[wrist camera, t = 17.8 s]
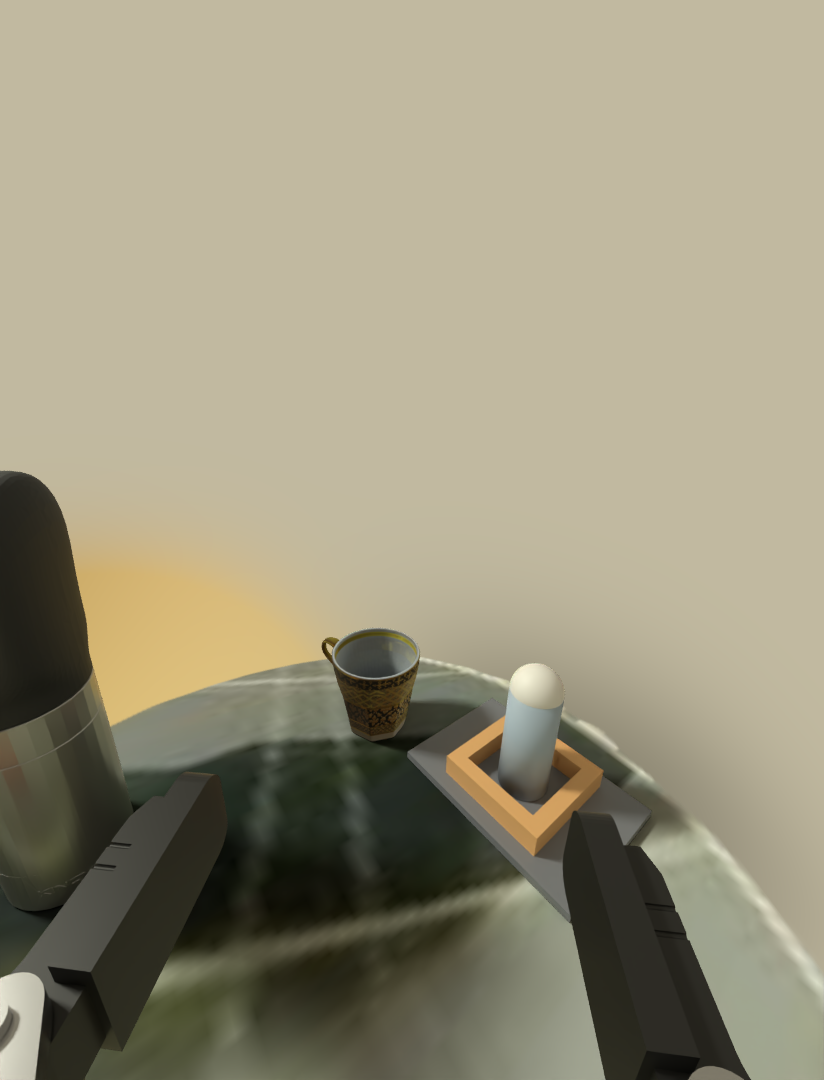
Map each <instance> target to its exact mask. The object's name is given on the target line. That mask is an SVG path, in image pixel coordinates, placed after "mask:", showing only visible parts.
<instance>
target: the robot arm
mask: <svg viewBox="0 0 824 1080" xmlns="http://www.w3.org/2000/svg"><path fill="white" fill-rule="evenodd" d="M226 832H227V815H226V809H225V803H224V798H223V792H222V786H221V781H220V778H219V776H218V775H215V774H205V773H194V772H184V773H182V774H181V775H180V776H179V777H178V778H177V779H176V781H175V782H174V784H173V785H172V786H171V788H170V789H169V791H168V792H167V794H166V795H165V797H160V796H153V797H152V798H151V799H150V800H149V801H147V802H146V803H145V804H144V805H143V806H141V807H140V808H139V809H138V810H137V811H135V812H133V808H132V804H131V801H130V797H129V793H128V789H127V785H126V782H125V778H124V774H123V771H122V767H121V764H120V760H119V757H118V753H117V749H116V746H115V742H114V739H113V735H112V732H111V728H110V725H109V721H108V718H107V714H106V711H105V707H104V703H103V700H102V697H101V693H100V690H99V686H98V683H97V679H96V676H95V673H94V669H93V666H92V661H91V658H90V654H89V648H88V635H87V623H86V617H85V612H84V608H83V604H82V600H81V596H80V591H79V586H78V581H77V577H76V572H75V566H74V560H73V555H72V550H71V544H70V540H69V535H68V531H67V527H66V523H65V520H64V518H63V515H62V511H61V509H60V507H59V505H58V503H57V501H56V499H55V497H54V496H53V494H52V493H51V492H50V490H49V489H48V488H47V487H46V486H45V485H44V484H43V483H42V482H41V481H40V480H38V479H37V478H35V477H33V476H32V475H29V474H26V473H22V472H14V471H0V885H1V887H2V889H3V891H4V893H5V896H6V898H7V900H8V901H9V902H10V903H11V904H12V905H13V906H14V907H17V908H19V909H22V910H28V911H39V910H46V909H51V908H54V907H57V906H60V905H63V904H64V906H63V907H62V909H61V910H60V911H59V913H58V914H57V915H56V917H55V918H54V919H53V921H52V922H51V923H50V925H49V926H48V927H47V929H46V930H45V932H44V933H43V934H42V936H41V937H40V938H39V940H38V941H37V942H36V944H35V945H34V946H33V948H32V949H31V950H30V952H29V953H28V954H27V956H26V957H25V958H24V959H23V961H22V962H21V963H20V964H19V965H18V966H17V967H16V968H15V970H14V971H13V972H12V973H11V974H10V975H7V976H5V977H2V978H0V1080H85V1076H86V1074H87V1072H88V1071H89V1069H90V1067H91V1065H92V1063H93V1061H94V1059H95V1057H96V1055H97V1053H98V1052H99V1050H100V1048H102V1049H108V1050H115V1051H123V1049H124V1046H125V1044H126V1042H127V1040H128V1038H129V1036H130V1034H131V1032H132V1030H133V1028H134V1026H135V1024H136V1022H137V1020H138V1018H139V1016H140V1014H141V1012H142V1010H143V1008H144V1006H145V1004H146V1002H147V1000H148V998H149V996H150V994H151V992H152V990H153V988H154V986H155V984H156V982H157V980H158V977H159V975H160V973H161V971H162V969H163V967H164V965H165V963H166V961H167V959H168V957H169V955H170V953H171V951H172V949H173V947H174V945H175V943H176V941H177V939H178V937H179V935H180V933H181V931H182V929H183V927H184V925H185V923H186V921H187V919H188V917H189V915H190V913H191V910H192V908H193V906H194V904H195V902H196V900H197V898H198V896H199V894H200V892H201V890H202V888H203V886H204V884H205V882H206V880H207V878H208V876H209V874H210V872H211V870H212V868H213V866H214V864H215V862H216V860H217V858H218V856H219V854H220V851H221V849H222V847H223V844H224V840H225V837H226ZM563 881H564V888H565V894H566V898H567V903H568V908H569V912H570V917H571V921H572V926H573V931H574V935H575V940H576V945H577V949H578V954H579V959H580V963H581V968H582V972H583V977H584V982H585V986H586V991H587V996H588V1000H589V1005H590V1010H591V1014H592V1019H593V1024H594V1028H595V1033H596V1037H597V1042H598V1047H599V1051H600V1056H601V1061H602V1065H603V1070H604V1075H605V1079H606V1080H751V1079H750V1078H749V1076H748V1074H747V1072H746V1071H745V1069H744V1067H743V1065H742V1064H741V1062H740V1059H739V1057H738V1055H737V1053H736V1051H735V1048H734V1046H733V1044H732V1041H731V1039H730V1037H729V1034H728V1032H727V1029H726V1027H725V1025H724V1022H723V1020H722V1017H721V1015H720V1013H719V1010H718V1008H717V1005H716V1003H715V1001H714V998H713V996H712V993H711V991H710V989H709V986H708V984H707V981H706V979H705V977H704V974H703V972H702V969H701V967H700V965H699V962H698V960H697V958H696V955H695V953H694V950H693V948H692V946H691V943H690V941H689V940H688V939H687V937H686V931H685V929H684V926H683V924H682V922H681V919H680V917H679V914H678V913H677V912H676V911H675V905H674V902H673V900H672V898H671V895H670V893H669V890H668V888H667V886H666V883H665V881H664V878H663V876H662V874H661V873H660V871H659V870H658V869H657V868H656V866H655V865H654V864H653V862H652V861H651V860H650V859H649V857H648V856H647V855H646V853H645V852H644V851H643V850H642V848H641V847H638V846H628V845H623V842H622V839H621V837H620V834H619V831H618V828H617V826H616V823H615V821H614V819H613V817H612V816H611V815H610V814H606V813H596V812H585V811H573V813H572V816H571V820H570V825H569V830H568V835H567V840H566V845H565V850H564V854H563Z"/></svg>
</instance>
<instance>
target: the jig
mask: <svg viewBox="0 0 824 1080" xmlns="http://www.w3.org/2000/svg"><path fill="white" fill-rule="evenodd" d="M505 715H506V707H505V706H503V705H502V704H501V703H499V702H498V701H496V700H495V699H493V698H491V699H489V700H488V701H486V702H485V703H483V704H482V705H480V706H478V707H477V708H475V709H474V710H472V711H471V712H469V713H468V714H466V715H464V716H463V717H461V718H460V719H458V720H457V721H455V722H453V723H452V724H450V725H449V726H447V727H446V728H444V729H442V730H441V731H439V732H438V733H436V734H435V735H433V736H432V737H430V738H428V739H427V740H425V741H424V742H422V743H421V744H419V745H417V746H416V747H414V748H413V749H411V750H410V751H408V755H407V757H408V758H409V759H410V760H411V762H412V763H413V764H414V765H415V766H416V767H417V768H418V769H419V770H420V771H421V772H422V773H423V774H424V775H425V776H426V777H427V778H428V779H429V780H430V781H431V782H432V783H433V784H434V785H435V786H436V787H437V788H438V789H439V790H440V791H441V792H442V793H443V794H444V795H445V796H446V797H447V798H448V799H449V800H450V801H451V802H452V803H453V804H454V805H455V806H456V807H457V808H458V809H459V811H460V812H461V813H462V814H463V815H464V816H465V817H466V818H467V819H468V820H469V821H470V822H471V823H472V824H473V825H474V826H475V827H476V828H477V829H478V830H479V831H480V832H481V833H482V834H483V835H484V836H485V837H486V838H487V839H488V840H489V841H490V842H491V843H492V844H493V845H494V846H495V847H496V848H497V849H498V850H499V851H500V852H501V853H502V854H503V855H504V856H505V857H506V859H507V860H508V861H509V862H510V863H511V864H512V865H513V866H514V867H515V868H516V869H517V870H518V871H519V872H520V873H521V874H522V875H523V876H524V877H525V878H526V879H527V880H528V881H529V882H530V883H531V884H532V885H533V886H534V887H535V888H536V889H537V890H538V891H539V892H540V893H541V894H542V895H543V896H544V897H545V898H546V899H547V900H548V901H549V902H550V903H551V904H552V905H553V907H554V908H555V909H556V910H557V911H558V912H559V913H560V914H561V915H562V916H563V917H564V918H565V919H566V920H567V921H568V922H569V923H570V921H571V917H570V912H569V908H568V903H567V898H566V894H565V888H564V881H563V854H564V850H565V845H566V840H567V835H568V830H569V825H570V820H571V816H572V813H573V811H585V812H596V813H606V814H610V815H611V816H612V817H613V819H614V821H615V823H616V826H617V828H618V831H619V834H620V837H621V839H622V842H623V845H629V844H630V843H631V841H632V840H633V839H634V837H635V836H636V835H637V833H638V832H639V831H640V829H641V828H642V827H643V826H644V824H645V823H646V822H647V820H648V819H649V818H650V816H651V812H652V810H650V809H649V808H647V807H646V806H644V805H643V804H642V803H640V802H639V801H637V800H636V799H635V798H633V797H632V796H630V795H629V794H628V793H626V792H625V791H623V790H622V789H620V788H619V787H618V786H616V785H615V784H613V783H612V782H611V781H609V780H608V779H606V778H605V777H604V776H602V775H603V770H602V769H600V768H599V767H598V766H596V765H595V764H593V763H592V762H590V761H589V760H587V759H586V758H585V757H583V756H582V755H580V754H579V753H577V752H576V751H575V750H573V749H572V748H570V747H569V746H567V745H566V744H565V743H563V742H562V741H560V740H559V739H556V745H555V750H554V755H553V760H552V766H551V771H550V776H549V781H548V787H547V791H546V793H545V795H544V796H543V797H542V798H540V799H538V800H536V801H522V800H518V799H516V798H514V797H512V796H510V795H509V794H508V793H507V792H506V791H505V790H504V789H503V788H502V787H501V786H500V784H499V781H498V777H497V773H498V766H499V759H500V751H501V744H502V737H503V730H504V722H505Z"/></svg>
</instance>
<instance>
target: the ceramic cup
mask: <svg viewBox="0 0 824 1080" xmlns="http://www.w3.org/2000/svg"><path fill="white" fill-rule="evenodd" d="M326 643H328V644H330V645H331V646H332V647H333V651H332V656H331V655H330V653H329V652H328V650H327V648H326ZM322 650H323V653H324V654H325V656H326V657H327V659H328V660H329V661H330V662H331V663H332V664H333V667H334V671H335V674H336V678H337V682H338V685H339V687H340V690H341V693H342V695H343V698H344V702H345V706H346V710H347V714H348V717H349V722H350V726H351V730H352V732H353V733H355V734H357V735H359V736H361V737H363V738H365V739H367V740H369V741H377V740H382V739H387V738H392V737H394V736H395V735H396V734H397V732H398V731H399V730H400V729H401V727H402V726H403V725H404V723H405V719H406V716H407V711H408V706H409V702H410V698H411V694H412V688H413V685H414V682H415V679H416V675H417V670H418V665H419V658H420V650H419V647H418V645H417V643H416V642H415V641H414V640H413V639H412V638H411V637H409V636H408V635H406V634H404V633H402V632H399V631H397V630H392V629H386V628H369V629H363V630H359V631H355V632H353V633H351V634H348V635H346V636H345V637H343V638H342V639H341V640H338V639H336V638H333V637H329V638H327V639H325V640H324V641H323V642H322Z"/></svg>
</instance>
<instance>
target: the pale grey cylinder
mask: <svg viewBox="0 0 824 1080" xmlns="http://www.w3.org/2000/svg"><path fill="white" fill-rule="evenodd" d="M564 692H565V691H564V686H563V683H562V681H561V679H560V677H559V676H558V675H557V674H556V672H555V671H554V670H552V669H551V668H549V667H548V666H545V665H543V664H538V663H531V664H527V665H525V666H522V667H521V668H519V669H518V670H517V671H516V672H515V673H514V675H513V677H512V678H511V681H510V686H509V693H508V701H507V708H506V715H505V722H504V730H503V737H502V744H501V751H500V759H499V766H498V773H497V777H498V781H499V784H500V786H501V787H502V788H503V789H504V790H505V791H506V792H507V793H508V794H509V795H510V796H512V797H514V798H516V799H518V800H522V801H536V800H538V799H540V798H542V797H543V796H544V795H545V793H546V791H547V787H548V781H549V776H550V771H551V766H552V760H553V755H554V750H555V745H556V739H557V734H558V729H559V724H560V718H561V713H562V708H563V703H564V696H565V693H564Z"/></svg>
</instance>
